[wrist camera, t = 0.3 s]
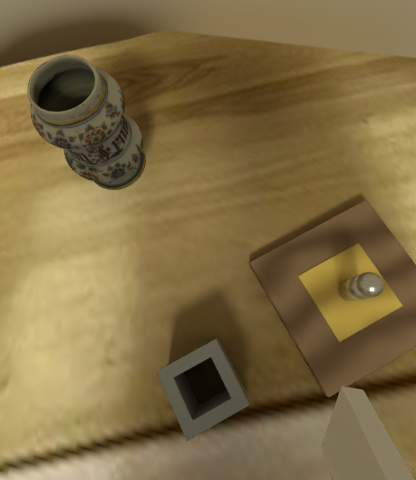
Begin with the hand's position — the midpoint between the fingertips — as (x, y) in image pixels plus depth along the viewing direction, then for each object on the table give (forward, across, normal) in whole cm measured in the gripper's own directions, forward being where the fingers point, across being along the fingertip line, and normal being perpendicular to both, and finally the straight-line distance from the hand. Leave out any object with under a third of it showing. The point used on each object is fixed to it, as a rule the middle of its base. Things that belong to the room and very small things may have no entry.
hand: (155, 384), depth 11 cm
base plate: (+32, -21, +8) cm, 39 cm away
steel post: (+31, -21, +7) cm, 38 cm away
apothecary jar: (+43, +18, -4) cm, 47 cm away
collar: (+26, -3, +21) cm, 34 cm away
